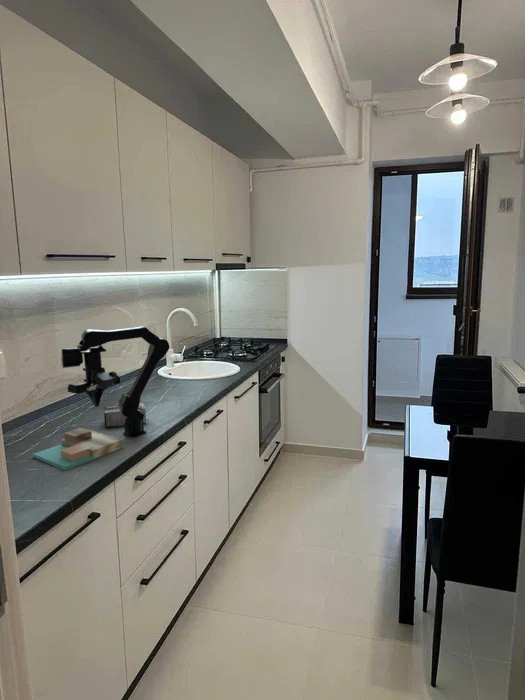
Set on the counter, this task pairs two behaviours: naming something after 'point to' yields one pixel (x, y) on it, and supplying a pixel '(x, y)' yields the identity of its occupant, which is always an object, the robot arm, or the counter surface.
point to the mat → (59, 458)
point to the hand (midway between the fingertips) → (96, 406)
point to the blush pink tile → (75, 452)
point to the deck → (98, 444)
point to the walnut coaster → (78, 435)
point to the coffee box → (118, 415)
